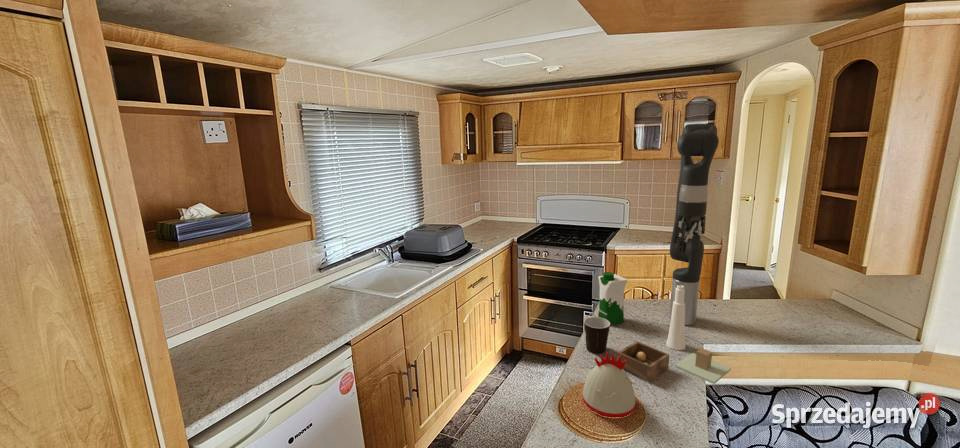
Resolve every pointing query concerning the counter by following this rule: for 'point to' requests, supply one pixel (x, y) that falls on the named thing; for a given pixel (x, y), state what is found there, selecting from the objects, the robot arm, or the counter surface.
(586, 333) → the coffee mug
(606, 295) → the milk carton
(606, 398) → the cream dome
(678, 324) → the cosmetic bottle
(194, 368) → the counter surface
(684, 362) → the lid
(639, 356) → the ball
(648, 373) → the box
